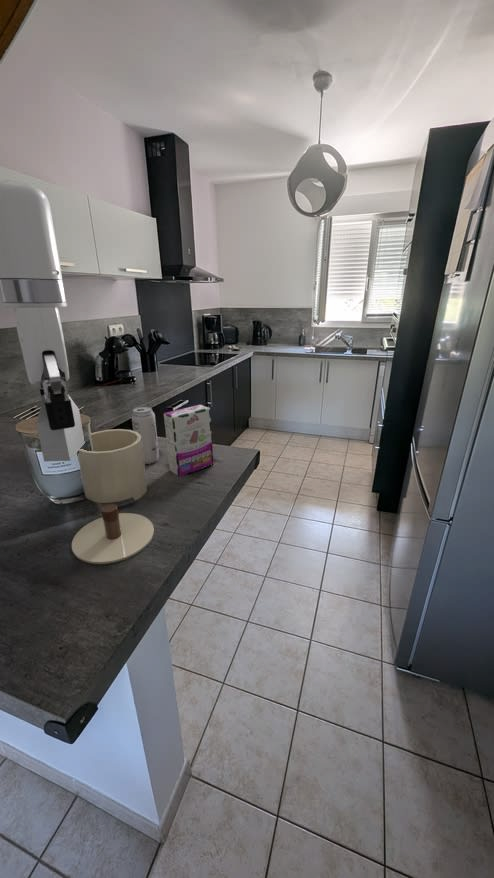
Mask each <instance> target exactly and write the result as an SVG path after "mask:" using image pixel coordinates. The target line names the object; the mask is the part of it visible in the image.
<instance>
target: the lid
mask: <svg viewBox="0 0 494 878" xmlns="http://www.w3.org/2000/svg"><path fill="white" fill-rule="evenodd" d="M100 511H101V516H102V517H99V518H96V519H94V520H93V521H91V522H88V523H87V524H86V525H84V526H83V527H82V528H80V529H79V530H78V531H77V532H76V534H75V535H74V537H73V538H72V542H71V551H72V553H73V556H75V557H76V558H77V559H78V560H79V561H81V562H84V563H86V564H90V565H91V564H92V565H108V564H113V563H120V562H122V561H125V560H127V559H130V558H132V557H134V556H135V555H137V554H139V553H140V552H142V551H143V550H144V549H145V548H146V547H148V545H149V544H150V543H151V542H152V540H153V538H154V534H155V528H154V524H153V523H152V521H151V520H150V519H149V518H148V517H146V516H144V515H142V514H138V513H134V512H133V513H131V512H119V506H118V505H117V504H115V503H107V504H105V505H103V506H102V507H101V508H100Z"/></svg>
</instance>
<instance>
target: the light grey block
mask: <svg viewBox="0 0 494 878" xmlns="http://www.w3.org/2000/svg"><path fill="white" fill-rule="evenodd" d="M49 394H50V393H49ZM68 396H69V399H70V400H71V405H72V411H73V416H74V421H75V426H74V427H71V428H65V429H59V430H51V429H50V426H49V421H48V417H47V412H46V407H45V403H44V402H47V401H46V397H45V394H44V395H42V396H41V395H40V398H41V399H40V401H41V402H40V408H39V411H38V414H37V418H36V420H35V428H36V431H37V437H38V440H39V444H40V445H39V446H40V449H41V453H42V457H43V461H44V462H68V461H69V462H70V461H72V459H73V458H74V457H76V453H77V452H78V451H79V450H80V448H81V447H82V446H83V445H84V444H85V441H84V436H85V435H84V430H83V425H82V418H81V412H80V409H79V407H78V406H77V404H76V403H75V402H74V400H73V399H72V397H71V396H70V395H69V394H68Z"/></svg>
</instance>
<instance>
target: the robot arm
mask: <svg viewBox="0 0 494 878" xmlns="http://www.w3.org/2000/svg"><path fill="white" fill-rule="evenodd" d="M61 267H62V266H61V261H60V255H59V251H58V244H57V238H56V232H55V227H54V222H53V215H52V208H51V204H50V201H49V199H48V196H47V195H46V194H45V192H44V191H42V190H41V189H40V188H39V187H37V186H34V185H32V184H29V183H26V182H21V181H17V180H10V179H0V297H1V298H0V299H1V302H2V306H3V307H4V308H13V314H14V321H15V326H16V331H17V337H18V341H19V345H20V350H21V354H22V358H23V362H24V367H25V372H26V374H27V378H28V382H29V383H30V384H31V385H33V386H36V385H37V383H38V382H39V385H40V388H39V393H40V397H41V396H42V395H44V394H45V397H46V401H47V402H44V403H45V407H46V412H47V417H48V421H49V426H50V429H51V430H59V429H65V428H71V427H74V426H75V421H74V416H73V411H72V405H71V400H70V399H69V396H70V395H69V393H68V389H67V385H66V384H67V383H66V382H68V380H70V370H69V364H68V363H69V362H68V355H67V349H66V343H65V337H64V336H65V335H64V332H63V325H62V320H61V316H60V315H61V314H60V310H59V308H66V307H67V308H68V303H67V296H66V290H65V285H64V279H63V275H62V273H63V272H62V268H61ZM49 393H50V394H49ZM68 395H69V396H68Z"/></svg>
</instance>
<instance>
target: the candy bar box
mask: <svg viewBox="0 0 494 878" xmlns="http://www.w3.org/2000/svg"><path fill="white" fill-rule="evenodd" d="M211 415H212V414H211V408H210V407H209V406H206V405H203V404H197V405H193V406H188V407H185V408H181V409H180V408H179V409H176V410H175V409H174V410H171V411H168V412H164V413H163V420H164V421H163V422H164V429H165V438H166V448H167V449H166V450H167V457H168V458H167V459H168V465H169V466H168V467H169V471H170V472H171V473H173V474H174V475H176V476H177V477H181V476H184V475H189V474H188V473H191V472H193V471H195V470H198V469H201V468H203V467H205V466H208V465H211V464H213V465H214V451H213V450H214V449H213V436H212V435H213V433H212V432H213V431H212V418H211V417H212V416H211ZM201 470H202V469H201ZM193 473H194V472H193ZM191 474H192V473H191Z"/></svg>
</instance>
